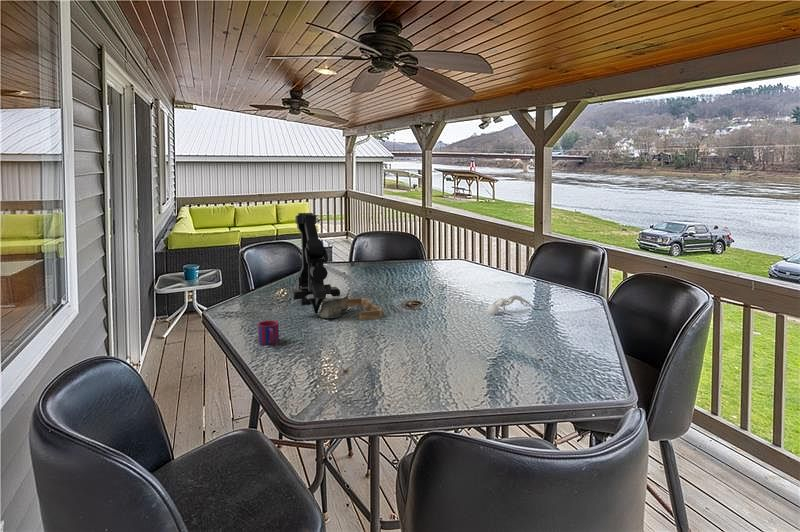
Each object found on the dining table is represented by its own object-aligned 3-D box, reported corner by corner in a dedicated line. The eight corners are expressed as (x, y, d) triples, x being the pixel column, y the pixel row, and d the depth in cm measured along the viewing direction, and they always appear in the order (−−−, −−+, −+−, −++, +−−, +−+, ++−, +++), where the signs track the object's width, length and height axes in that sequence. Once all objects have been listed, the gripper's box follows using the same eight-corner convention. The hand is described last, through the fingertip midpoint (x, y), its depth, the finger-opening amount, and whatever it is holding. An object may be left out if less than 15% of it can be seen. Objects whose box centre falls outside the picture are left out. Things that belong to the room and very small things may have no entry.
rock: (328, 298, 218) (350, 293, 215) (332, 313, 219) (354, 309, 216) (312, 306, 201) (335, 302, 199) (316, 323, 202) (340, 319, 199)
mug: (278, 338, 180) (277, 319, 179) (280, 347, 170) (280, 328, 169) (258, 340, 178) (257, 321, 176) (259, 349, 168) (259, 329, 167)
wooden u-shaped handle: (342, 305, 224) (342, 299, 223) (363, 304, 228) (363, 297, 227) (360, 320, 203) (360, 312, 202) (382, 317, 207) (382, 310, 206)
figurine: (543, 301, 222) (501, 293, 208) (537, 324, 222) (494, 317, 209) (527, 297, 230) (485, 288, 216) (521, 318, 230) (480, 311, 217)
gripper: (296, 281, 194) (297, 321, 196) (344, 278, 201) (344, 316, 204) (290, 275, 204) (291, 313, 206) (336, 272, 211) (336, 309, 214)
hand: (316, 313), depth 207 cm, fingers closed
